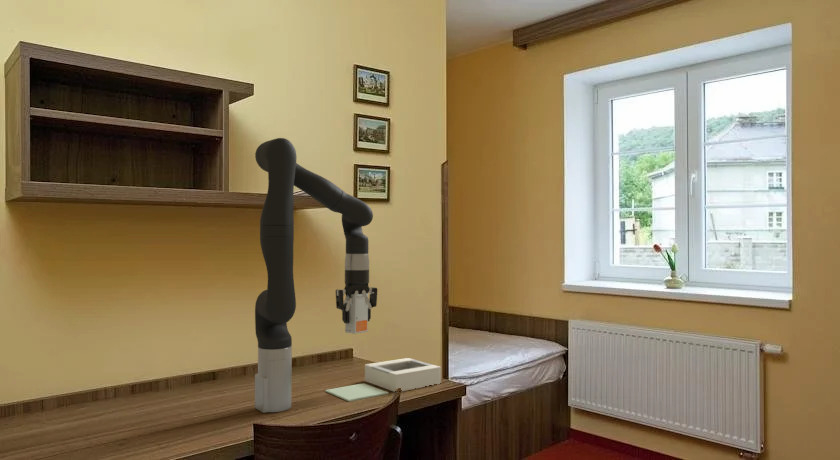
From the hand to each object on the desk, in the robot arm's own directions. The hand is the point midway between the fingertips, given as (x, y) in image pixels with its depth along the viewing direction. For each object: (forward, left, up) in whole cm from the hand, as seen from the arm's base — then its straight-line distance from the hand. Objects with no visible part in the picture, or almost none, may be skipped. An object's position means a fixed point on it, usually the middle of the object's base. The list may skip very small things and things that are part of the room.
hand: (356, 322), depth 184 cm
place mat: (0, 0, -22) cm, 22 cm away
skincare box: (0, 0, -3) cm, 3 cm away
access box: (+19, +2, -22) cm, 29 cm away
